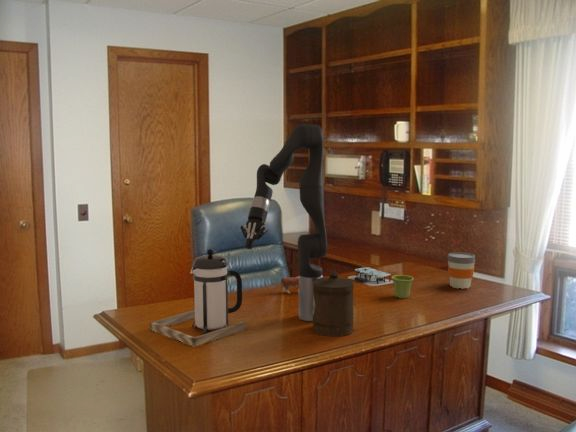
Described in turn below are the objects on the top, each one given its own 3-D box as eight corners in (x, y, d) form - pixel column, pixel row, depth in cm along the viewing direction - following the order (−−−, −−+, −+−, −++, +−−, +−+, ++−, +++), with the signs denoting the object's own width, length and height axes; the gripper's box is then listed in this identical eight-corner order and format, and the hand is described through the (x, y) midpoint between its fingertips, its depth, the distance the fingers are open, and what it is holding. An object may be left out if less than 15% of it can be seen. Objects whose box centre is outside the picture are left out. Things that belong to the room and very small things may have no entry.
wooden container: (328, 320, 223) (328, 265, 220) (360, 329, 214) (362, 271, 211) (304, 330, 212) (305, 272, 209) (338, 340, 202) (339, 279, 199)
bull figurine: (310, 294, 260) (310, 276, 258) (280, 293, 260) (280, 276, 259) (310, 291, 264) (310, 274, 263) (281, 291, 264) (281, 273, 263)
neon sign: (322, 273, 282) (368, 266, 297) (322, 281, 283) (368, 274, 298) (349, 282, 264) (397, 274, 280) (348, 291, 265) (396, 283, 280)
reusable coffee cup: (440, 284, 276) (442, 253, 274) (461, 281, 282) (462, 251, 279) (458, 290, 265) (460, 259, 263) (479, 287, 270) (481, 256, 268)
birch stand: (246, 329, 213) (245, 321, 212) (194, 347, 195) (193, 339, 195) (201, 315, 230) (201, 307, 229) (150, 330, 212) (150, 322, 212)
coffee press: (224, 338, 204) (223, 255, 200) (183, 333, 209) (181, 252, 205) (243, 322, 220) (242, 245, 216) (205, 318, 225) (203, 243, 221)
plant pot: (411, 294, 260) (412, 275, 259) (414, 300, 251) (414, 280, 249) (390, 293, 261) (391, 274, 260) (392, 299, 252) (392, 280, 250)
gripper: (241, 205, 241) (230, 244, 235) (267, 206, 234) (256, 245, 228) (251, 213, 246) (240, 251, 241) (277, 213, 239) (266, 252, 233)
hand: (248, 248), depth 234 cm, fingers closed
